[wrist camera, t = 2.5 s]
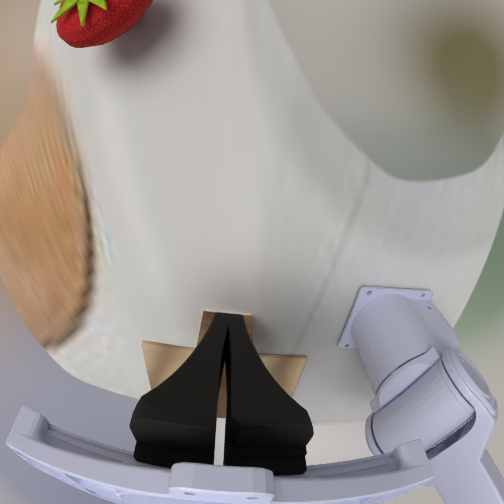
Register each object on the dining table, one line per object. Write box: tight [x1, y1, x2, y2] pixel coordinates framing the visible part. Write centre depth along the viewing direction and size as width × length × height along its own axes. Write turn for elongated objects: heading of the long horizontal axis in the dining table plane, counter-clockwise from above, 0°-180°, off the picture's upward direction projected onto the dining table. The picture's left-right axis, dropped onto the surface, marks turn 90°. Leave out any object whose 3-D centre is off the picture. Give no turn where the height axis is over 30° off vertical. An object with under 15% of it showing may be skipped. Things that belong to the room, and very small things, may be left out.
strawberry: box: [51, 0, 153, 48], centre depth 10 cm, size 6×8×10 cm
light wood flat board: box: [142, 341, 307, 397], centre depth 30 cm, size 18×9×1 cm, turn 83°
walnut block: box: [197, 309, 252, 418], centre depth 23 cm, size 4×4×9 cm
